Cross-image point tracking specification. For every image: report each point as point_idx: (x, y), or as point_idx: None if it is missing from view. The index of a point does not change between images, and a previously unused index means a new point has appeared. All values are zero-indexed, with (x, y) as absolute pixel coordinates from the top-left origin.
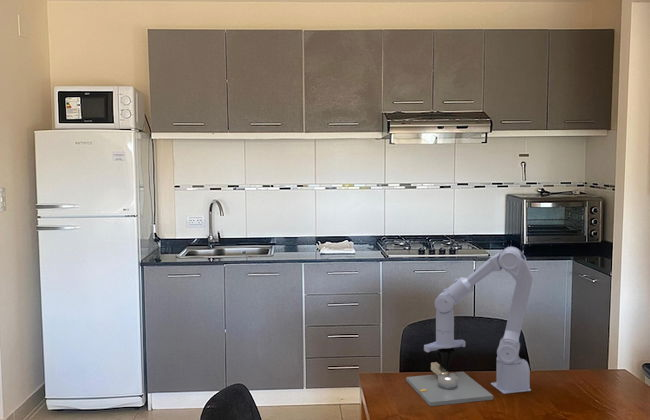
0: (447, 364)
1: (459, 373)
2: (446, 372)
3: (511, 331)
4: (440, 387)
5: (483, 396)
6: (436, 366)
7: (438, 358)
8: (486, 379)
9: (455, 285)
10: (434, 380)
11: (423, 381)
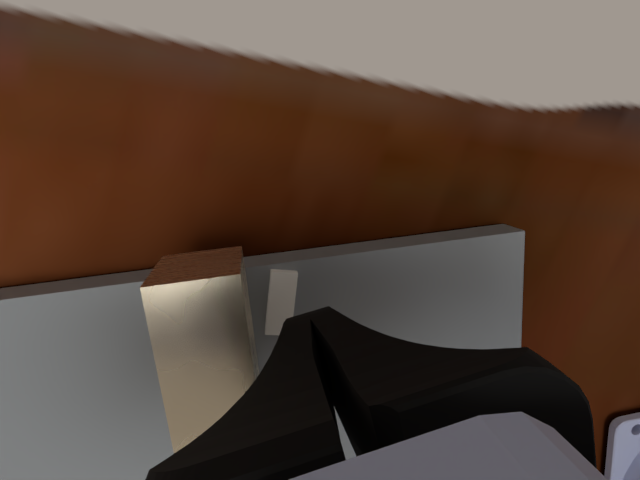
0: (352, 442)
1: (470, 275)
2: None
3: None
4: None
5: None
6: (188, 443)
7: (250, 386)
8: (632, 318)
9: None
10: (163, 428)
11: (36, 450)
